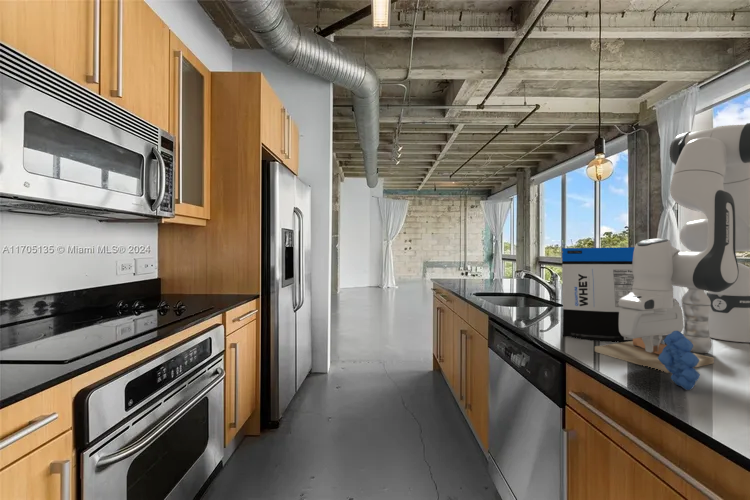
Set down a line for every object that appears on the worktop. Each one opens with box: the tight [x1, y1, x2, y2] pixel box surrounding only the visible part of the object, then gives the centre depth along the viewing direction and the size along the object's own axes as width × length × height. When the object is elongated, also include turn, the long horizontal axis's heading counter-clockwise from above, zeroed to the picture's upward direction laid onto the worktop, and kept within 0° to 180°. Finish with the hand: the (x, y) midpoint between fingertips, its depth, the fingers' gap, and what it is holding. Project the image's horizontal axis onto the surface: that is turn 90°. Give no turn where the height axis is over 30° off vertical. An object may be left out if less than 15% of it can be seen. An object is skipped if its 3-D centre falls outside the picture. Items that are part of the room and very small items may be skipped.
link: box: [633, 338, 667, 355], centre depth 106 cm, size 15×4×2 cm, turn 178°
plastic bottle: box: [680, 287, 713, 354], centre depth 110 cm, size 6×7×20 cm
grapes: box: [658, 331, 701, 391], centre depth 86 cm, size 12×7×12 cm, turn 166°
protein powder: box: [561, 246, 635, 343], centre depth 127 cm, size 10×24×30 cm, turn 71°
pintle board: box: [594, 334, 715, 374], centre depth 106 cm, size 18×20×6 cm
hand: (652, 351), depth 103 cm, fingers closed
